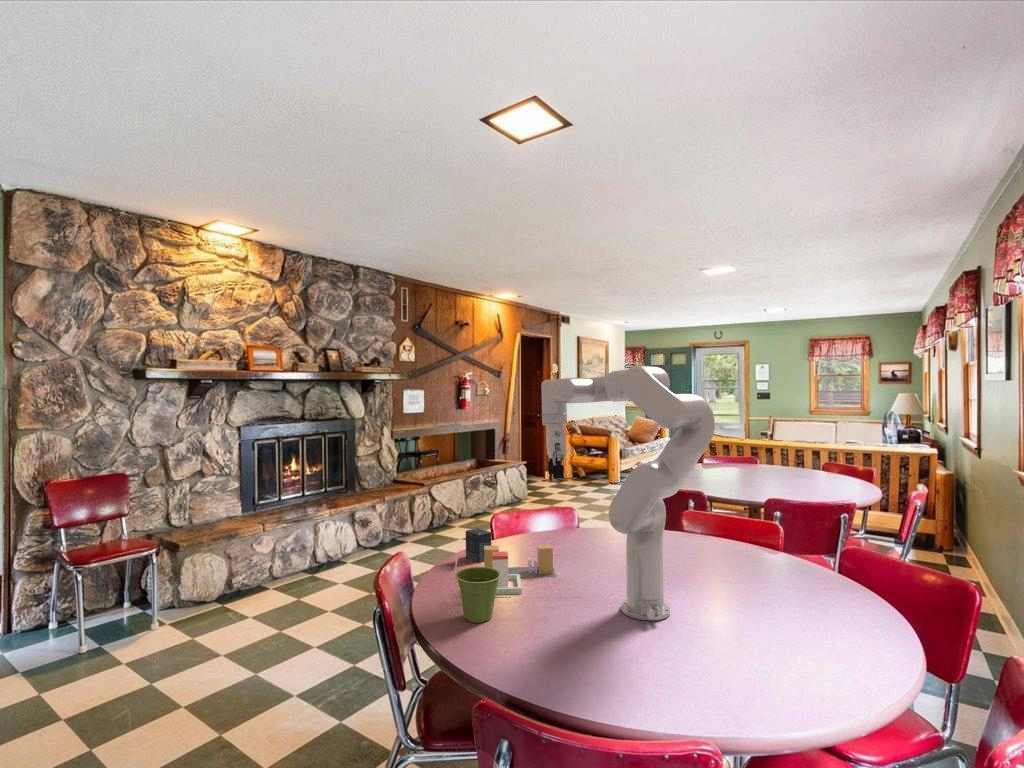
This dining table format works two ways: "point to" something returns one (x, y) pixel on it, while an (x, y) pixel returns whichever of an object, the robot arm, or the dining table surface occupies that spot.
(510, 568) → the fuse block
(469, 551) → the box
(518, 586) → the tray
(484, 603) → the plant pot
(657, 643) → the dining table surface
